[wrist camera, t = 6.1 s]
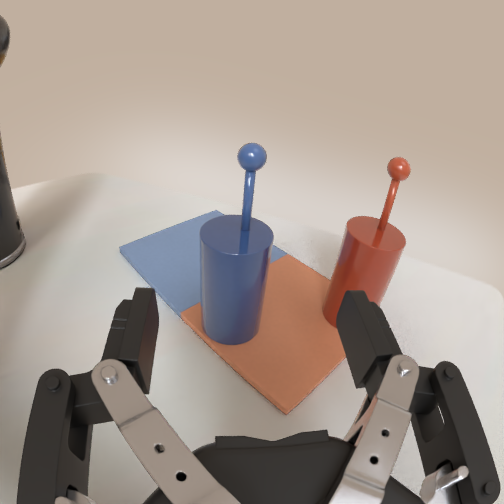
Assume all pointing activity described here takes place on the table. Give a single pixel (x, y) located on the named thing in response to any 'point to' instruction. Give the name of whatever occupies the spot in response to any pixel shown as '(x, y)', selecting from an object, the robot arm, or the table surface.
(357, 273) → the terracotta spoon holder
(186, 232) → the sorting board
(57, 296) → the table surface
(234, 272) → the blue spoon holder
